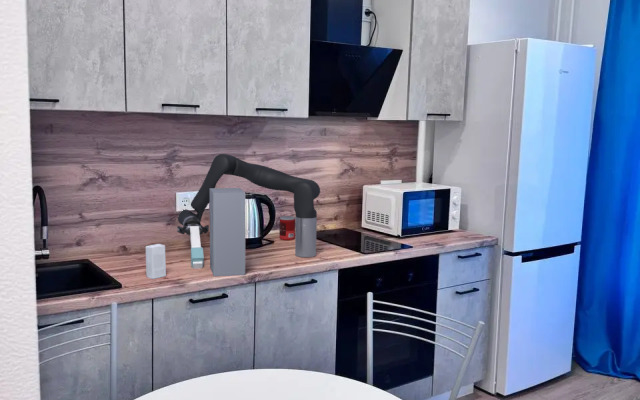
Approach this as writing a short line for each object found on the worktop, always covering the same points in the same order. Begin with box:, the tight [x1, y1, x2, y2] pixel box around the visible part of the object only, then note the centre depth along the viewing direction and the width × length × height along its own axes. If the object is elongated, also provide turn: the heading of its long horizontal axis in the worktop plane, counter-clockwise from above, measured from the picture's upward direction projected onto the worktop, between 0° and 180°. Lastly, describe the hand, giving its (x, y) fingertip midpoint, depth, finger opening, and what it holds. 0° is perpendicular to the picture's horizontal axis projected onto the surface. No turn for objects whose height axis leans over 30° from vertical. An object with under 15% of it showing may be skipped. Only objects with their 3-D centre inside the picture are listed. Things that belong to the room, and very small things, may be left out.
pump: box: [189, 226, 205, 270], centre depth 246 cm, size 22×5×5 cm
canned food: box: [278, 215, 296, 242], centre depth 298 cm, size 8×8×11 cm
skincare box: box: [145, 243, 167, 280], centre depth 225 cm, size 6×4×12 cm
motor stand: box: [209, 187, 246, 277], centre depth 234 cm, size 14×12×32 cm
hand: (194, 232), depth 249 cm, fingers open, 4 cm apart
